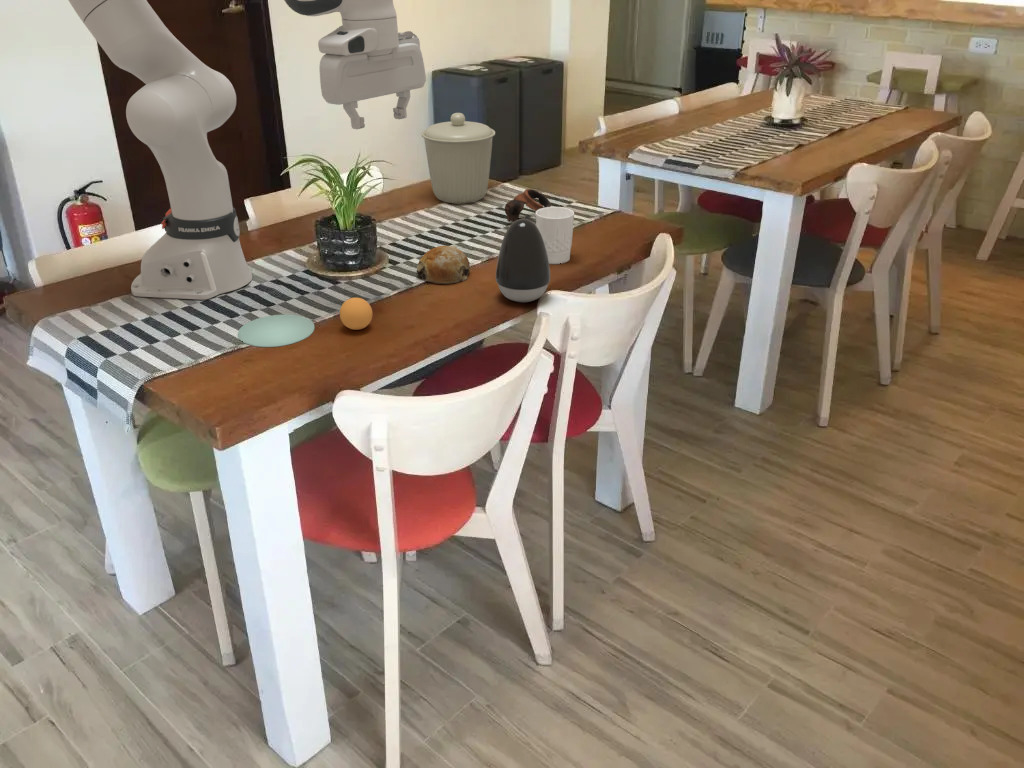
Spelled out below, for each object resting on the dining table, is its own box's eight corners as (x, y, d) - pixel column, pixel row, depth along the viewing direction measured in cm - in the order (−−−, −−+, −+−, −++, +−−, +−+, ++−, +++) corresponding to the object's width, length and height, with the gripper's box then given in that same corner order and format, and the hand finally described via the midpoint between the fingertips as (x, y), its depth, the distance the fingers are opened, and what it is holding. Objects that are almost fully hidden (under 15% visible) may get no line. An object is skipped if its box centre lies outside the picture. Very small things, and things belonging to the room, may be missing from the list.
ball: (339, 335, 151) (336, 305, 149) (343, 322, 156) (340, 292, 154) (372, 334, 152) (369, 304, 149) (374, 321, 157) (372, 292, 154)
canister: (471, 213, 212) (468, 124, 202) (410, 202, 220) (405, 115, 210) (509, 194, 225) (508, 110, 215) (450, 184, 233) (447, 102, 223)
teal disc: (230, 348, 147) (230, 347, 147) (246, 316, 158) (246, 315, 158) (309, 345, 148) (309, 344, 148) (319, 314, 159) (318, 313, 159)
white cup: (578, 263, 182) (579, 216, 177) (541, 267, 180) (542, 220, 175) (565, 250, 188) (566, 205, 184) (530, 254, 186) (530, 208, 182)
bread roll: (453, 303, 173) (469, 270, 169) (407, 279, 172) (421, 245, 168) (465, 285, 181) (481, 252, 177) (421, 261, 181) (436, 229, 177)
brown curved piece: (519, 213, 213) (537, 185, 209) (544, 238, 210) (562, 210, 205) (488, 212, 204) (505, 183, 200) (513, 238, 200) (531, 209, 196)
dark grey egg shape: (553, 288, 170) (554, 211, 163) (546, 309, 161) (547, 229, 154) (501, 285, 171) (500, 209, 164) (491, 306, 162) (490, 226, 155)
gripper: (405, 28, 152) (412, 111, 158) (309, 42, 139) (321, 132, 145) (430, 30, 148) (436, 114, 155) (334, 45, 135) (345, 136, 141)
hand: (379, 123), depth 150 cm, fingers open, 8 cm apart
